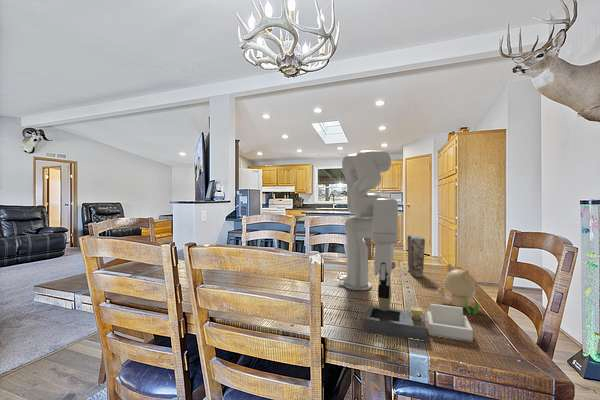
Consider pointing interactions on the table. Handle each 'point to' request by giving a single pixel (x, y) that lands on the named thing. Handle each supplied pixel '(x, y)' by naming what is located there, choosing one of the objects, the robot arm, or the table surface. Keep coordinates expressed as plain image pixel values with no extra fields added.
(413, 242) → the stone block
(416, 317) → the brass key
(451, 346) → the table surface
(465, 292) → the cream toy figurine
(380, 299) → the handle
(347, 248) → the robot arm
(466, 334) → the white square bin
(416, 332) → the socket block
